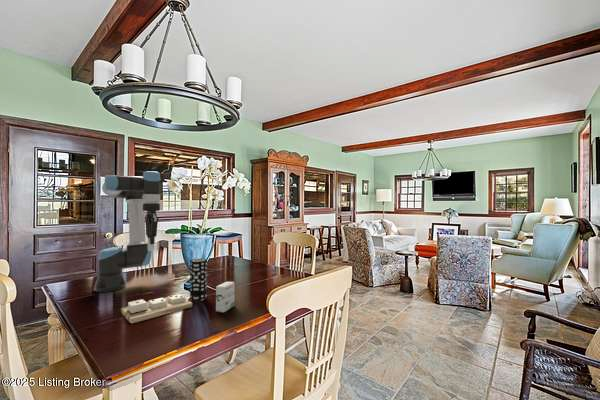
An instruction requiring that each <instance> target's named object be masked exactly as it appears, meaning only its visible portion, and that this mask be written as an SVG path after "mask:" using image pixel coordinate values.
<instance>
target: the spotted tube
mask: <svg viewBox="0 0 600 400" xmlns="http://www.w3.org/2000/svg"><path fill="white" fill-rule="evenodd" d="M189 262H190V264H189V267H190V268H189V272H190V273H189V301H190V302H201V301H204V300H207V298H208V259H207V258H194V259H190V261H189Z"/></svg>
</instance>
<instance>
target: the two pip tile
mask: <svg viewBox="0 0 600 400" xmlns="http://www.w3.org/2000/svg"><path fill="white" fill-rule="evenodd" d="M164 298H165V297H158V298H154V299H150V300H148V302H149V307H150V308H151V309H156V308H160V307H164V306H167V301H166V300H165V299H164Z"/></svg>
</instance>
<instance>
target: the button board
mask: <svg viewBox="0 0 600 400" xmlns="http://www.w3.org/2000/svg"><path fill="white" fill-rule="evenodd" d="M163 298H164V299H165V300H166V301H167V306H164V307H160V308H156V309H151V308H150V307H149V301H146V302H147V310H143V311H139V312H135V313H131V312H130V311H129V310H128V306H125V307H121V308H120V313H121V314H122V316H124V317H125V319H126V320H127V322H129V323H131V324H135V323H139V322H142V321H145V320H150V319H153V318H157V317H160V316H163V315H168V314H171V313H176V312H178V311H182V310H186V309H190V308H193V301H191V300H190V299H187V298H185V301H184V302H180V303H176V304H172V305H171V304H170V303H169V302H168V296H167V297H163Z"/></svg>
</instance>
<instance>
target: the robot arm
mask: <svg viewBox="0 0 600 400" xmlns="http://www.w3.org/2000/svg"><path fill="white" fill-rule="evenodd" d="M142 174H143V175H142V176H133V175H132V176H131V175H115V174H107V175H105V176H104V182H103V184H102V187H101V189H102V192H103V193H104V194H105V195H106V196H108V197H111V198H114V199H125V202H126V203H127V204H128V231H129V232H128V234H129V235H128V236H129V240H128V241H129V242H128V243H127V245H126V248H123V246H113V247H108V248H104V249H101V250H99V252H98V257H97V260H98V269H97V273H98V275H97V279H96V281H95V284H94V287H93V291H94V292H95V291H96V292H95V293H110V292H109V291H111V292H115V291H116V292H117V291H120V290H122V289H125V288H126V287H127V283H126V278H125V277H124V273H123V270H124V269H131V268H132V269H133V268H139V267H145V266H148V265H150V262H151V260H152V253H153V252H154V251H155V247H156V245H155V244H156V243H155V241H156V237H157V235H158V223H159V217H158V215H157V212H158V211H161V204H160V202H161V173H160V172H158V171H147V170H146V171H143V173H142ZM145 212H146V213H145ZM146 236H147V241H146Z"/></svg>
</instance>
